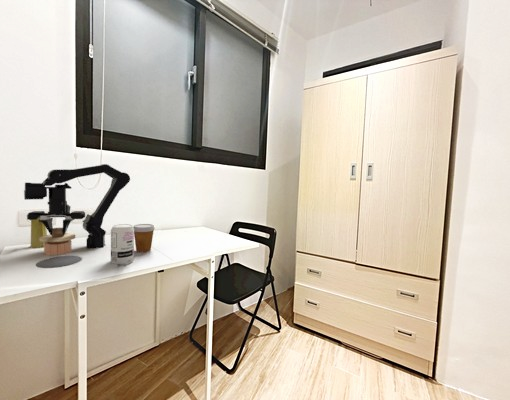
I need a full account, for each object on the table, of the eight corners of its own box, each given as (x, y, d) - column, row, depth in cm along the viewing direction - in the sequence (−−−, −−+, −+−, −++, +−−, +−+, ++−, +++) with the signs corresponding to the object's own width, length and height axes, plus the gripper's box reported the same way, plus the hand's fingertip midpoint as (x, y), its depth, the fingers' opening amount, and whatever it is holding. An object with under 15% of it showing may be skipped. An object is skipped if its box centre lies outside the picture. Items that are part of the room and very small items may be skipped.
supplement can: (116, 258, 102) (116, 223, 101) (136, 259, 103) (137, 224, 102) (106, 265, 94) (106, 227, 93) (128, 265, 95) (128, 228, 94)
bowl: (74, 249, 111) (73, 239, 111) (67, 255, 103) (66, 244, 102) (49, 250, 108) (49, 239, 107) (40, 257, 99) (40, 245, 99)
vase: (37, 249, 109) (36, 217, 108) (26, 247, 110) (25, 216, 109) (51, 245, 115) (50, 216, 114) (40, 244, 116) (40, 214, 115)
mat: (86, 256, 103) (86, 254, 103) (75, 267, 90) (75, 266, 90) (45, 258, 98) (45, 256, 98) (28, 271, 85) (28, 269, 85)
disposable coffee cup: (158, 249, 117) (159, 225, 116) (142, 254, 109) (142, 228, 108) (144, 246, 121) (145, 222, 120) (127, 251, 113) (127, 225, 112)
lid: (78, 235, 112) (78, 225, 112) (70, 241, 101) (69, 231, 101) (46, 236, 108) (46, 226, 108) (33, 243, 97) (33, 232, 97)
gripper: (88, 197, 114) (88, 230, 116) (38, 196, 107) (39, 231, 109) (81, 200, 104) (81, 235, 105) (25, 199, 97) (26, 237, 98)
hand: (58, 234), depth 105 cm, fingers closed on lid, 4 cm apart
